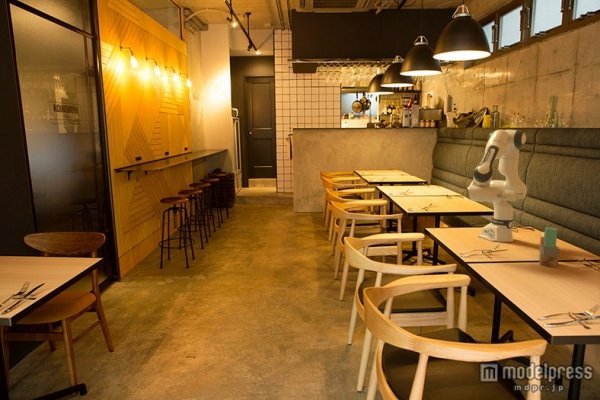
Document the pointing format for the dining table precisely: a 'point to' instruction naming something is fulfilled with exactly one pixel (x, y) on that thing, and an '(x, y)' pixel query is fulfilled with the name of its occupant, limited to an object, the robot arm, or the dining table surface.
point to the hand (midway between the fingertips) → (524, 195)
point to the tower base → (548, 261)
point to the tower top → (549, 252)
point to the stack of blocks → (541, 240)
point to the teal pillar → (550, 237)
